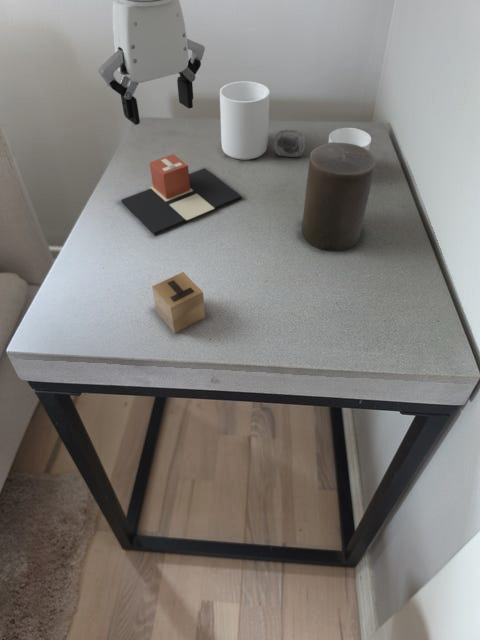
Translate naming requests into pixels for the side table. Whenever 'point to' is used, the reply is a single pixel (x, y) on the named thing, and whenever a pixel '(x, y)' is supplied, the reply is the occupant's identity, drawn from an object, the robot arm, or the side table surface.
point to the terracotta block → (170, 176)
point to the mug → (244, 119)
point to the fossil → (289, 143)
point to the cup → (351, 137)
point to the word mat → (181, 202)
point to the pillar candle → (337, 195)
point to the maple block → (179, 301)
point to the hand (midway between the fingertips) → (160, 113)
